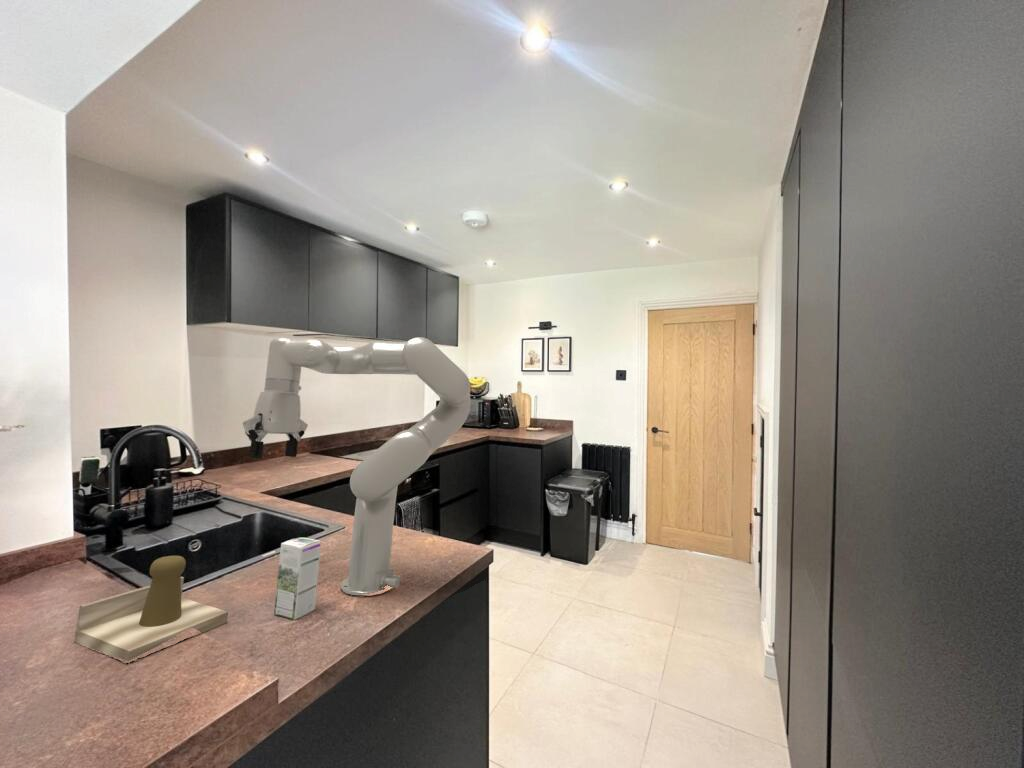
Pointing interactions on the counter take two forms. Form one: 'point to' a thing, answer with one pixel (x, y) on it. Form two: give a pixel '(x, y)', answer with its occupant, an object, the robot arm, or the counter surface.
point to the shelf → (137, 624)
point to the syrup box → (297, 577)
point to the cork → (164, 592)
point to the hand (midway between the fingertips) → (273, 457)
